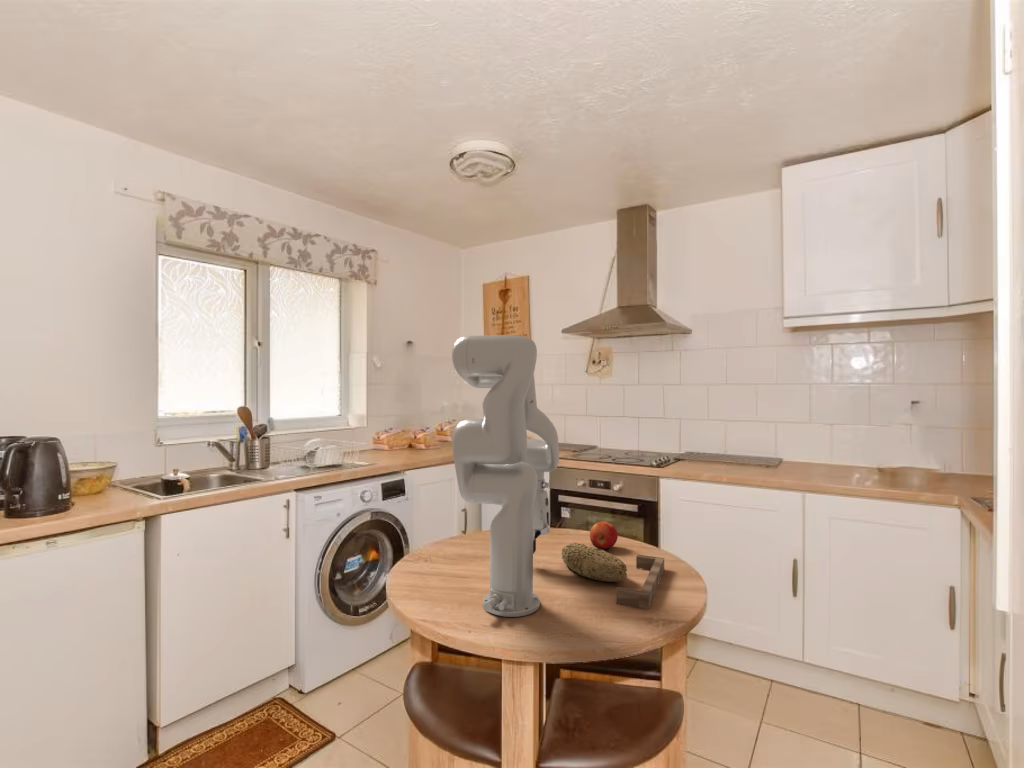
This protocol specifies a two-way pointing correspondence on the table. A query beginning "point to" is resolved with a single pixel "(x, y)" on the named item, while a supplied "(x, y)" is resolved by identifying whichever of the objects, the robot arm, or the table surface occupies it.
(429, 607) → the table surface
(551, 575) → the table surface
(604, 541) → the apple
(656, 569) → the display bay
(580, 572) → the sponge
